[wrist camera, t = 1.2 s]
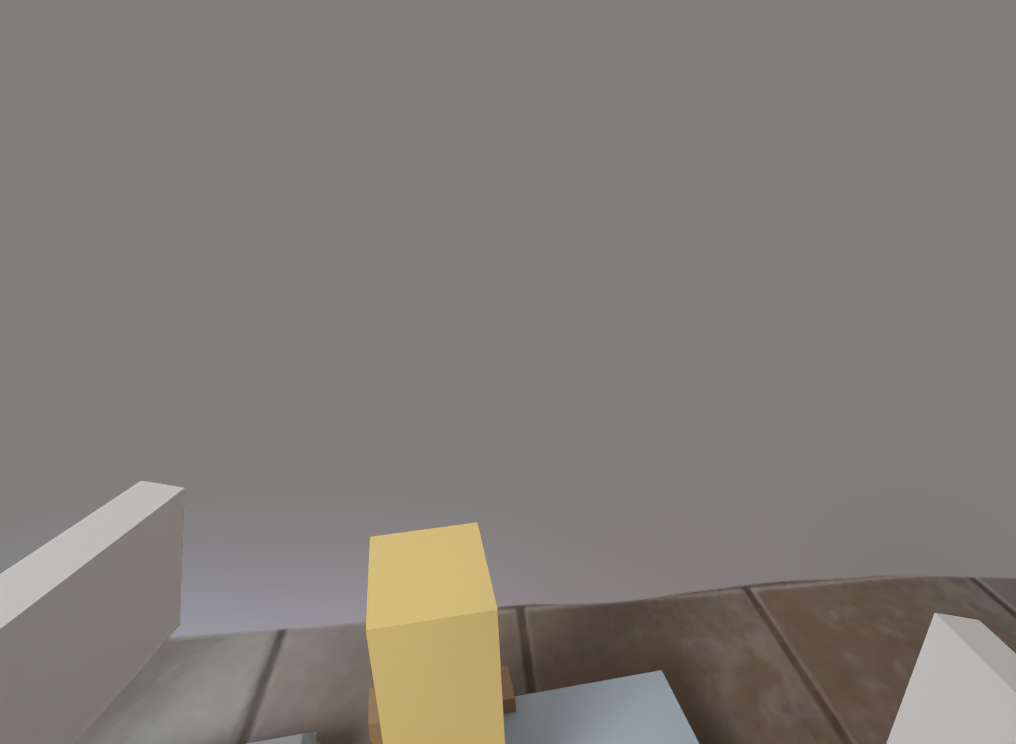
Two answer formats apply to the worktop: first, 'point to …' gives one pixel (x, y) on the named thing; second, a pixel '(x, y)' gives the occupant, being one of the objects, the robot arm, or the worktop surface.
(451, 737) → the stub
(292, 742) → the tray
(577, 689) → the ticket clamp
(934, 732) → the robot arm
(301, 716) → the worktop surface
